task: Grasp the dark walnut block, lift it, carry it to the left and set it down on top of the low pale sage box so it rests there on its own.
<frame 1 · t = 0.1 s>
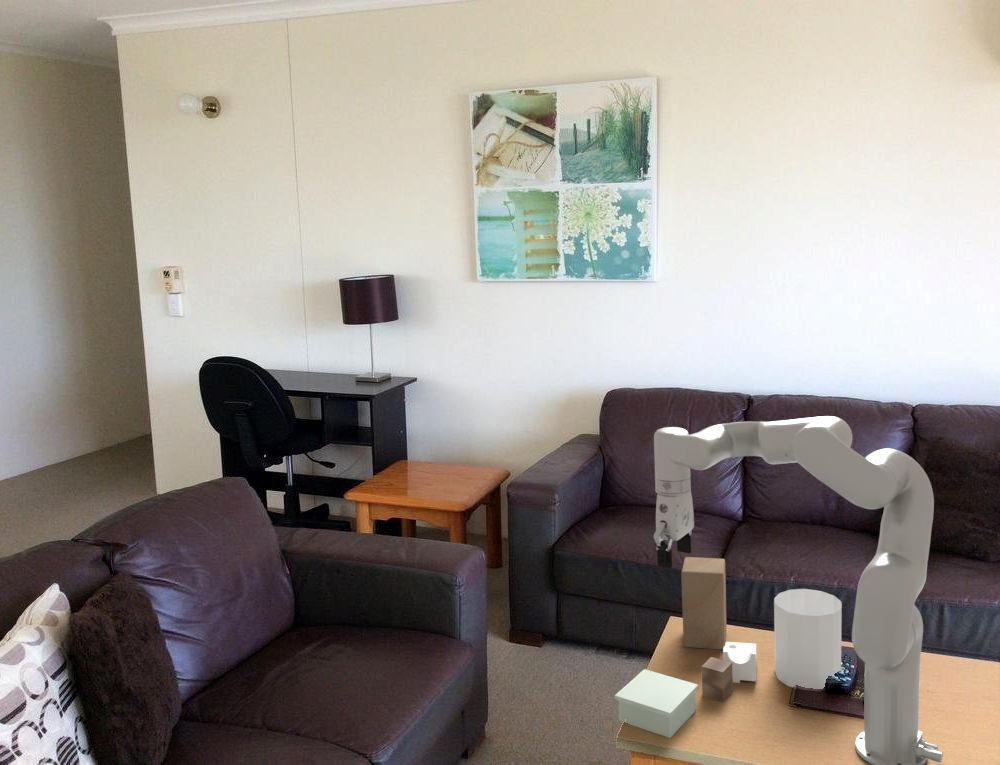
hand: (674, 559, 191), 31 cm above the table, fingers open, 9 cm apart
bracket: (740, 670, 204), on the table
wooden block: (705, 640, 218), on the table
walnut block: (717, 693, 193), on the table
container: (807, 676, 199), on the table
sage box: (657, 715, 186), on the table
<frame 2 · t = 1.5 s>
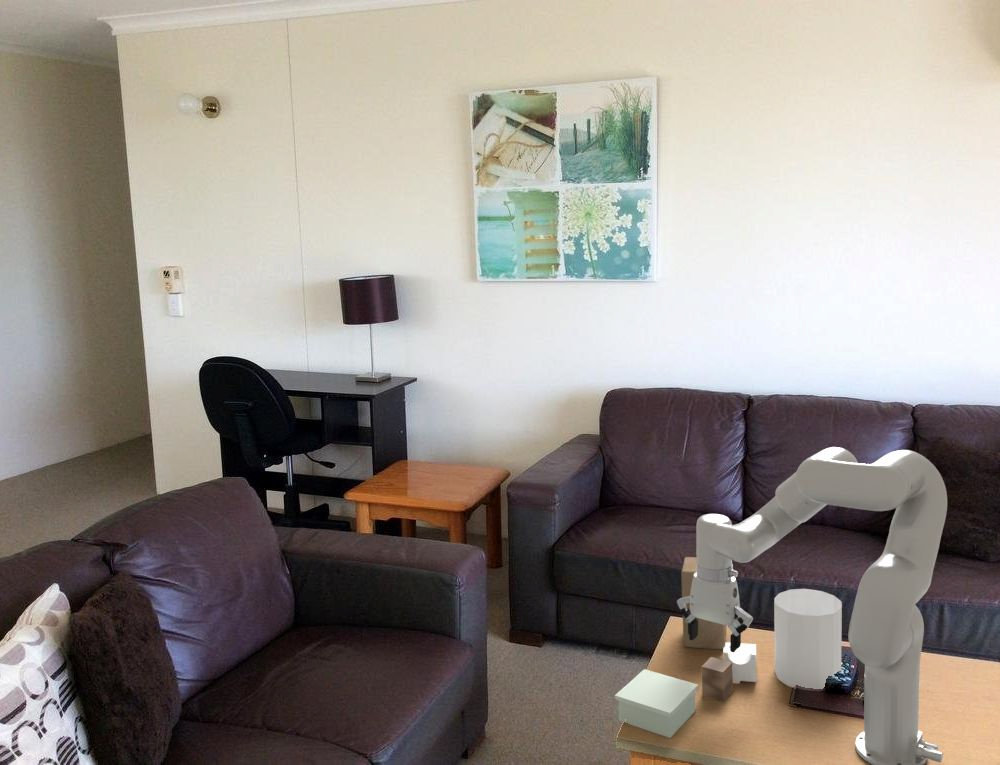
hand: (713, 643, 192), 12 cm above the table, fingers open, 9 cm apart
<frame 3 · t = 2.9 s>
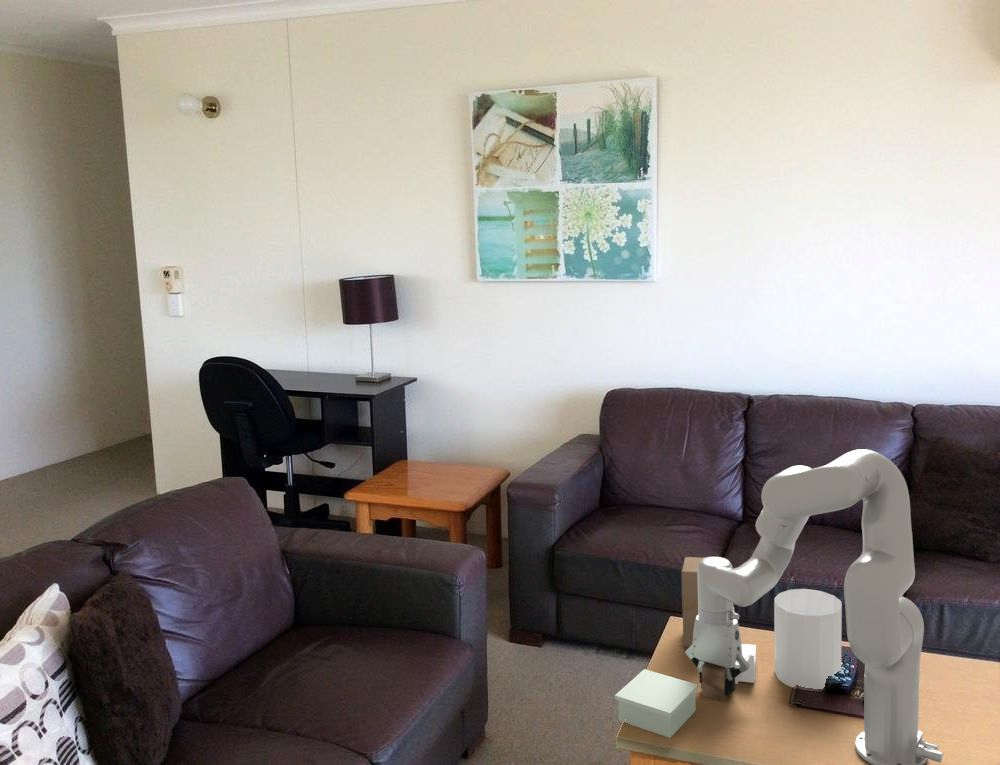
hand: (717, 689, 193), 1 cm above the table, fingers closed on walnut block, 5 cm apart
walnut block: (717, 693, 193), on the table, touching gripper
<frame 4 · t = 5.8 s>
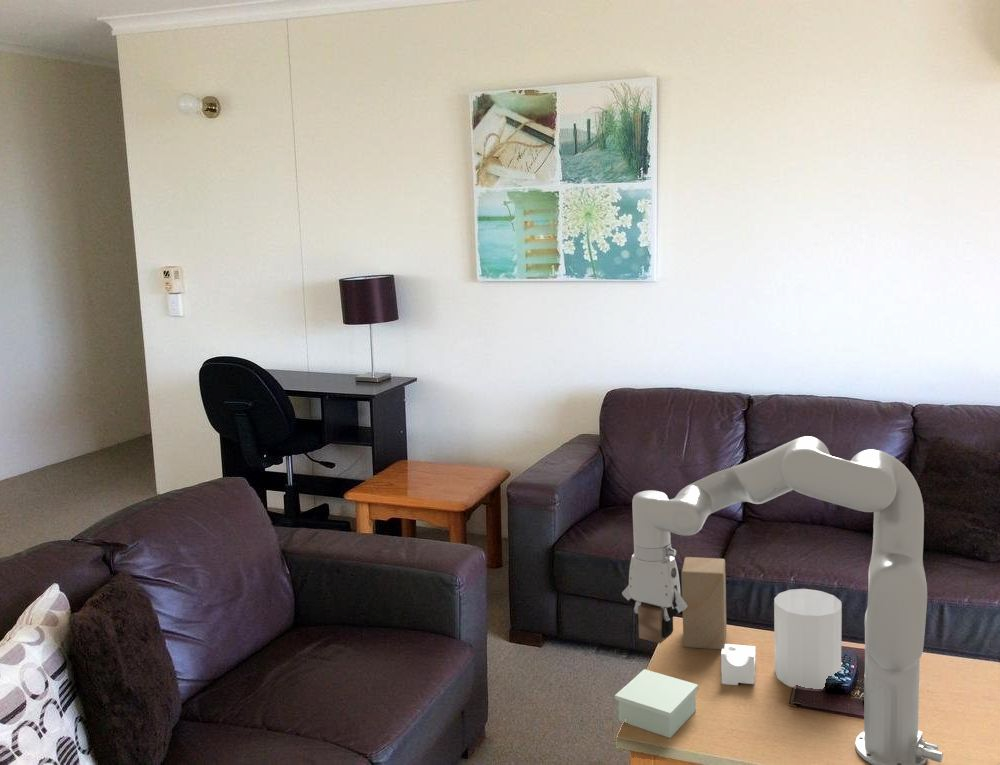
hand: (655, 631, 183), 19 cm above the table, fingers closed on walnut block, 5 cm apart
walnut block: (655, 635, 183), point 18 cm above the table, touching gripper
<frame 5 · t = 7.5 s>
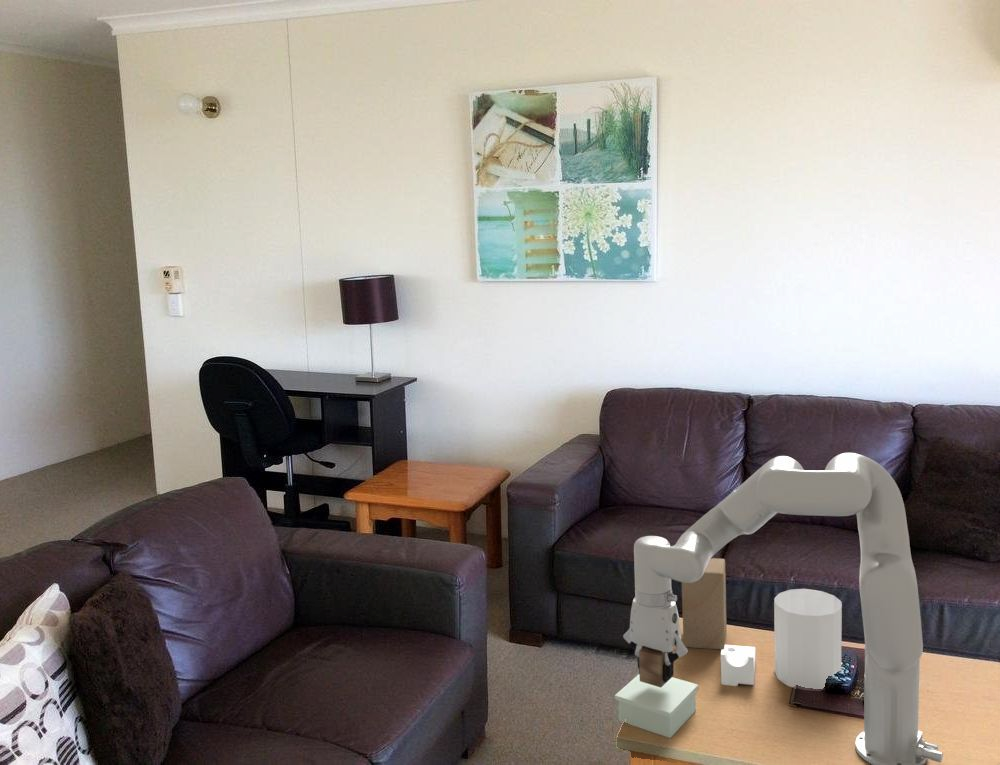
hand: (655, 674, 185), 9 cm above the table, fingers closed on walnut block, 5 cm apart
walnut block: (655, 679, 185), point 8 cm above the table, touching gripper
when the fingers open (8 cm above the table, at t = 8.7 s): walnut block stays where it is, resting on sage box.
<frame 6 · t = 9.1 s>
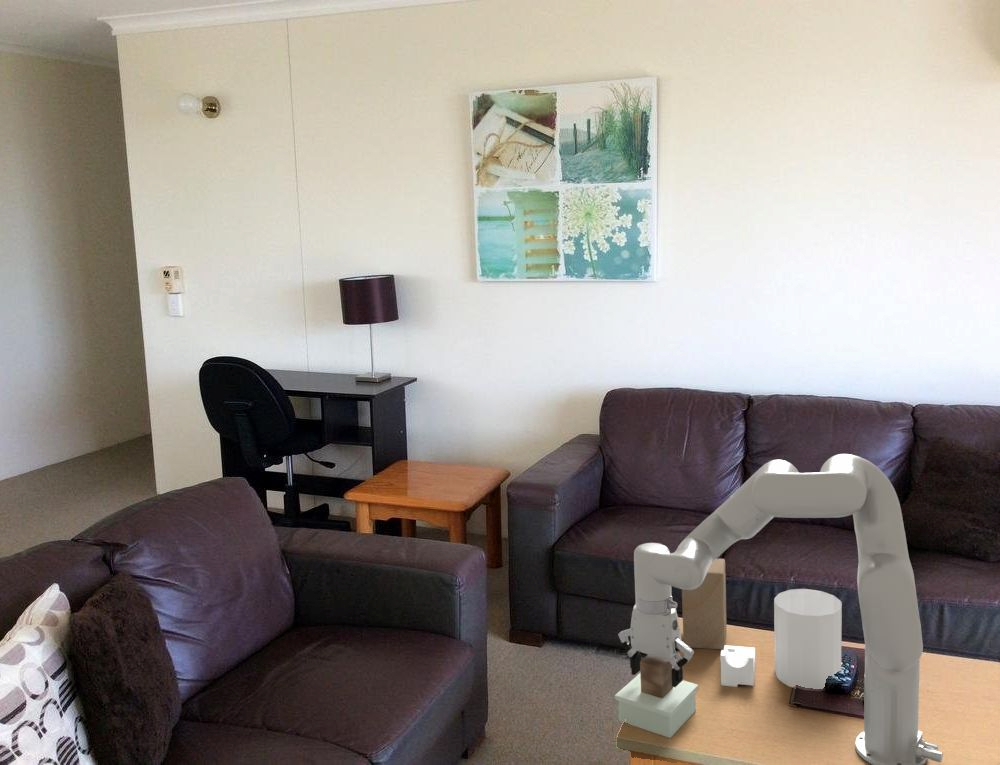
hand: (656, 678, 185), 9 cm above the table, fingers open, 9 cm apart
walnut block: (657, 690, 185), point 6 cm above the table, touching sage box
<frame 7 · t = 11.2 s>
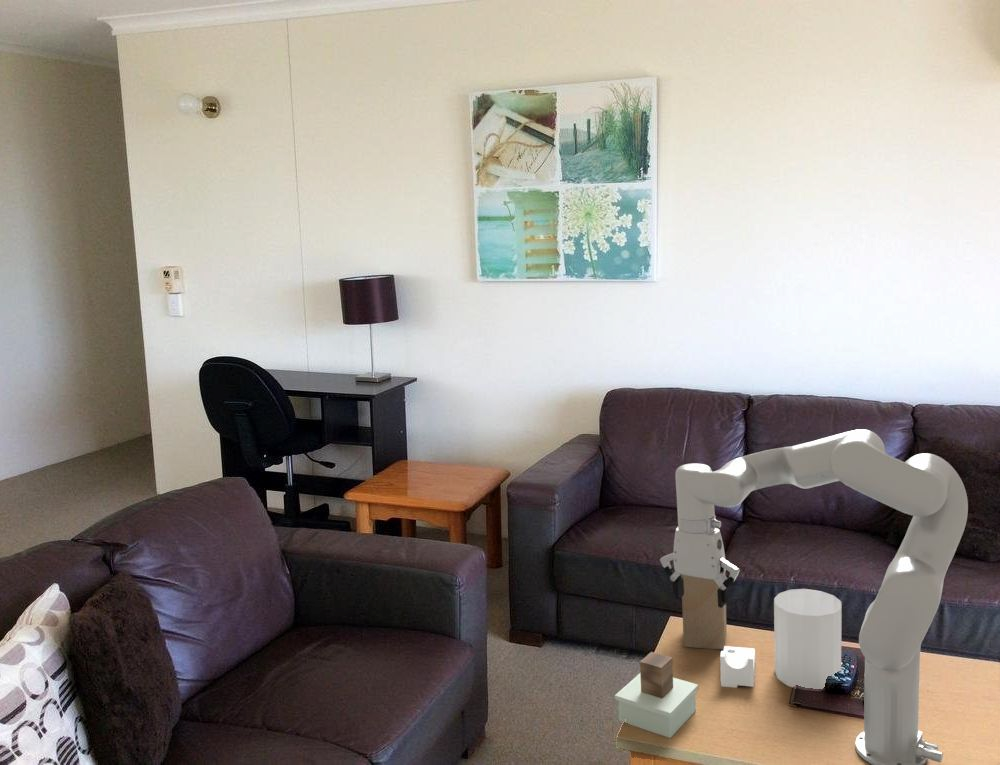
hand: (700, 601, 183), 25 cm above the table, fingers open, 9 cm apart
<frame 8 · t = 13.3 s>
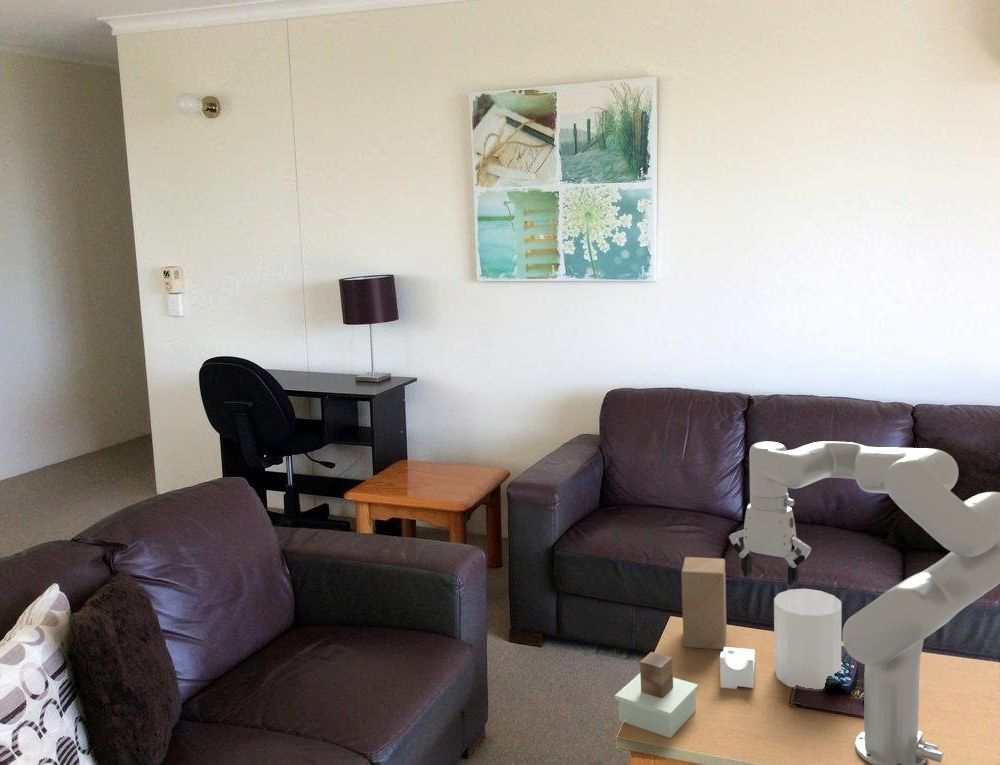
hand: (769, 578, 184), 28 cm above the table, fingers open, 9 cm apart
at the end: walnut block inside the target area on the sage box (0.1 cm from its centre), point 6.0 cm above the sage box's base; walnut block tilted 0°; the gripper is holding nothing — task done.
